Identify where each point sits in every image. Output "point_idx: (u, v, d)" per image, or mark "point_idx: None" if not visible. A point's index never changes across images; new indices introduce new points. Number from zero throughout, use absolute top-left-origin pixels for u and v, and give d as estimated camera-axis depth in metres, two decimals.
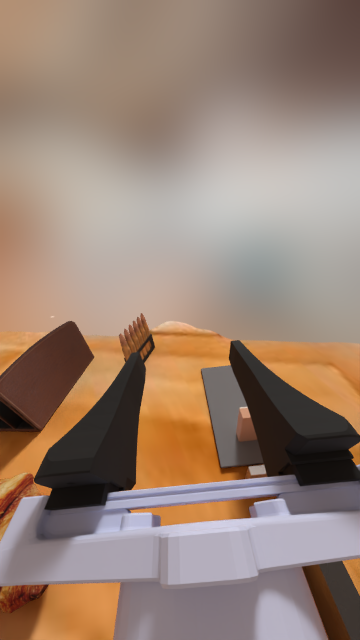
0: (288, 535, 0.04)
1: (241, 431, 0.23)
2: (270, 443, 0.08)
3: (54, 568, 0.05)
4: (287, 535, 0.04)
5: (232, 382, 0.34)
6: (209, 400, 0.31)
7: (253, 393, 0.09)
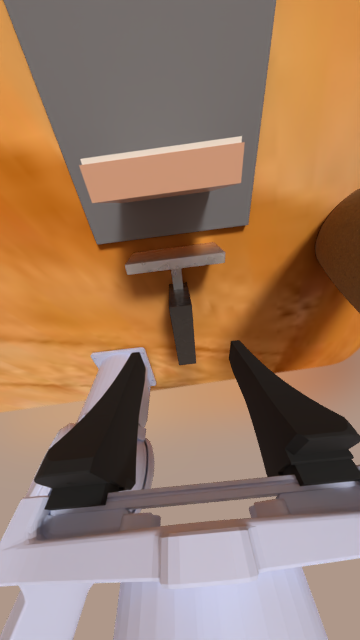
0: (288, 535, 0.04)
1: (116, 202, 0.11)
2: (270, 443, 0.08)
3: (54, 568, 0.05)
4: (287, 535, 0.04)
5: None
6: (29, 52, 0.09)
7: (253, 393, 0.09)
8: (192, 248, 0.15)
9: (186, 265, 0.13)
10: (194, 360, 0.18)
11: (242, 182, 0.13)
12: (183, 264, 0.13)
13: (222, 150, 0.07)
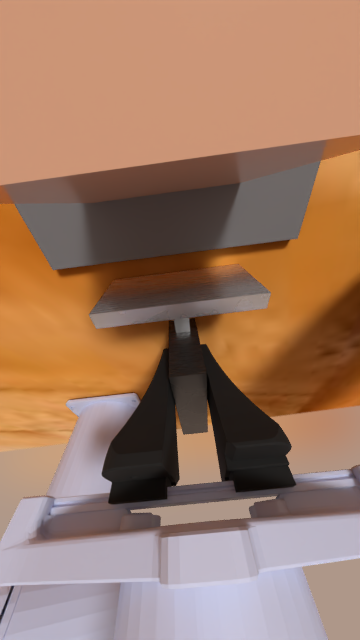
0: (288, 535, 0.04)
1: (54, 202, 0.05)
2: (219, 448, 0.08)
3: (54, 568, 0.05)
4: (287, 535, 0.04)
5: None
6: None
7: (210, 398, 0.09)
8: (206, 276, 0.09)
9: (199, 313, 0.07)
10: (205, 429, 0.13)
11: None
12: (194, 312, 0.07)
13: None
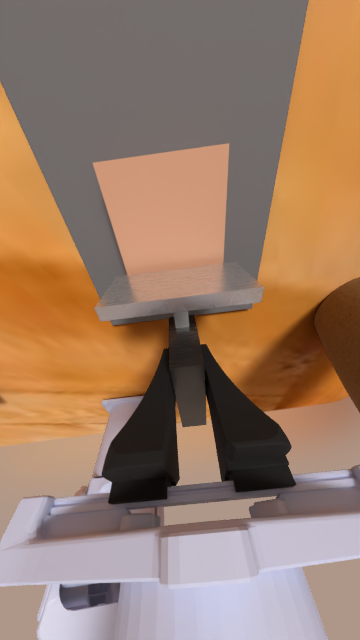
0: (288, 535, 0.04)
1: (119, 241, 0.10)
2: (219, 448, 0.08)
3: (53, 568, 0.05)
4: (287, 535, 0.04)
5: (133, 106, 0.08)
6: (62, 203, 0.10)
7: (210, 398, 0.09)
8: (205, 273, 0.10)
9: (197, 306, 0.08)
10: (204, 422, 0.13)
11: None
12: (193, 305, 0.08)
13: None
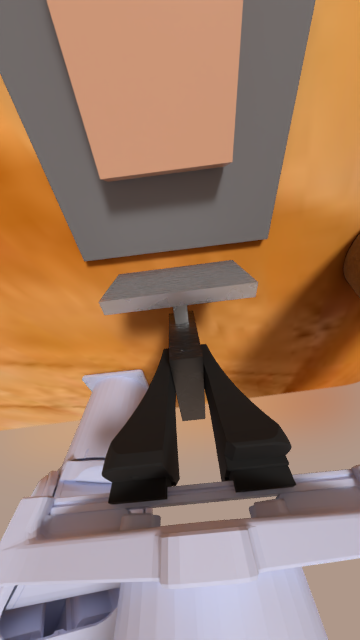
0: (288, 535, 0.04)
1: (72, 73, 0.07)
2: (219, 448, 0.08)
3: (53, 568, 0.05)
4: (287, 535, 0.04)
5: None
6: None
7: (210, 398, 0.09)
8: (203, 270, 0.10)
9: (196, 301, 0.08)
10: (203, 415, 0.14)
11: (264, 188, 0.10)
12: (191, 300, 0.08)
13: None
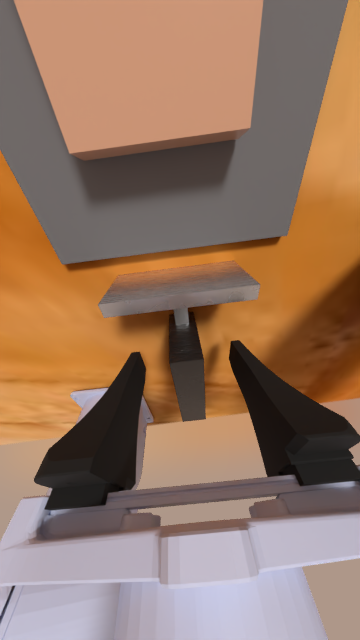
0: (288, 535, 0.04)
1: None
2: (270, 443, 0.08)
3: (54, 567, 0.05)
4: (287, 535, 0.04)
5: None
6: None
7: (253, 393, 0.09)
8: (204, 271, 0.10)
9: (196, 303, 0.08)
10: (203, 416, 0.14)
11: (286, 169, 0.08)
12: (192, 302, 0.08)
13: None
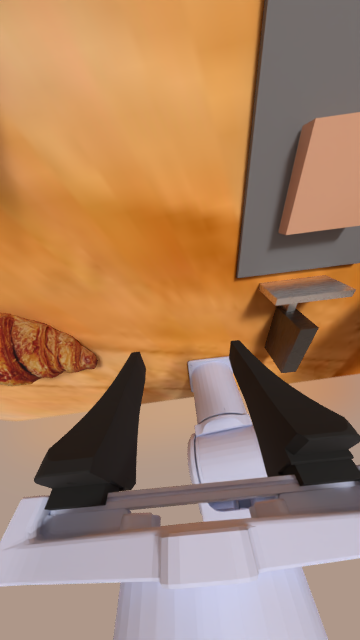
0: (288, 535, 0.04)
1: (299, 189, 0.13)
2: (270, 443, 0.08)
3: (54, 568, 0.05)
4: (287, 535, 0.04)
5: (348, 74, 0.11)
6: (255, 158, 0.13)
7: (253, 393, 0.09)
8: (314, 282, 0.19)
9: (322, 298, 0.17)
10: (295, 369, 0.22)
11: None
12: (320, 298, 0.17)
13: None
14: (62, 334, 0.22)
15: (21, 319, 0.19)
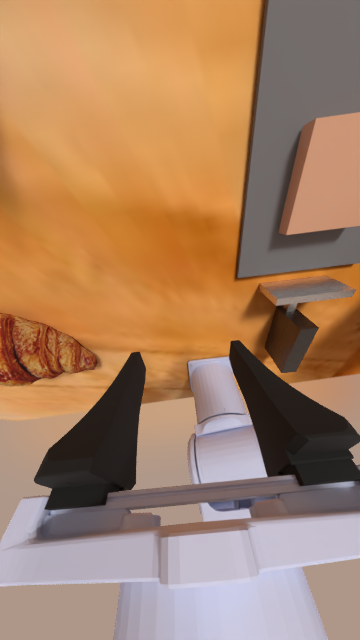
0: (288, 535, 0.04)
1: (299, 189, 0.13)
2: (270, 443, 0.08)
3: (54, 567, 0.05)
4: (287, 535, 0.04)
5: (349, 74, 0.11)
6: (255, 158, 0.13)
7: (253, 393, 0.09)
8: (315, 282, 0.19)
9: (322, 298, 0.17)
10: (295, 369, 0.22)
11: None
12: (321, 298, 0.17)
13: None
14: (62, 335, 0.22)
15: (22, 320, 0.20)
